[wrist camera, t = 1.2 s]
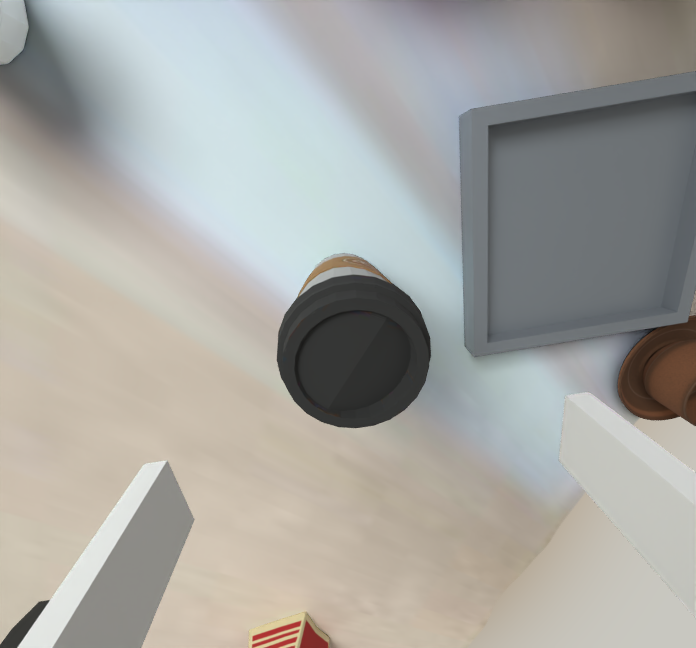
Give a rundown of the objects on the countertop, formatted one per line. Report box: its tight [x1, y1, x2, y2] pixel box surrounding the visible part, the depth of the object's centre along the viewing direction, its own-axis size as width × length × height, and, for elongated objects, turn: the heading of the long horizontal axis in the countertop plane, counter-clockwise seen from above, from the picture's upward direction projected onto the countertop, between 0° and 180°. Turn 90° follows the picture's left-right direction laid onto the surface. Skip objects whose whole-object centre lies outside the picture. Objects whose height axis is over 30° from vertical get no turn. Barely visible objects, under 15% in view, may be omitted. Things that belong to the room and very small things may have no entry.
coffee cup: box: [277, 253, 431, 428], centre depth 23 cm, size 8×8×15 cm
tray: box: [459, 71, 696, 357], centre depth 28 cm, size 20×20×2 cm
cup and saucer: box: [618, 316, 696, 426], centre depth 32 cm, size 12×12×6 cm
